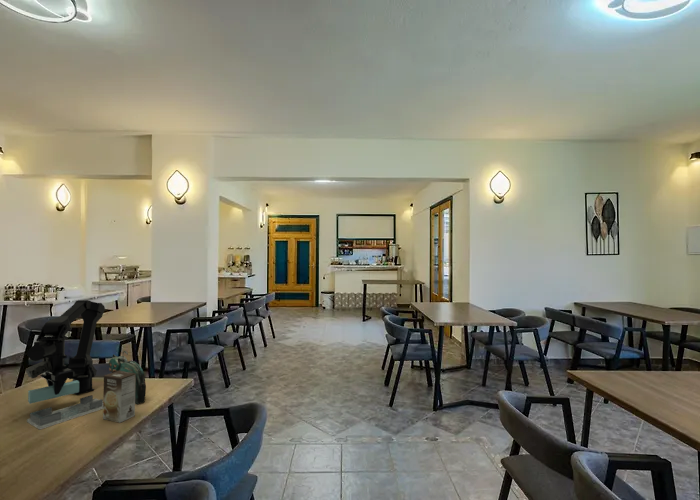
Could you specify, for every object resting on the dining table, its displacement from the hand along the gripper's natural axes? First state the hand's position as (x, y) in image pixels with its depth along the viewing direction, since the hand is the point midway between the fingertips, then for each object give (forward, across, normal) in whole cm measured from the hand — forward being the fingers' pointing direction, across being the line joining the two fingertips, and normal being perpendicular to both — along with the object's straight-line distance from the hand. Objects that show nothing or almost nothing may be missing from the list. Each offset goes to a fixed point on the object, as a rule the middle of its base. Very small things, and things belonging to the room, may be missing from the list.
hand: (54, 393), depth 139 cm
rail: (+1, 0, 0) cm, 1 cm away
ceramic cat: (+6, +15, +20) cm, 26 cm away
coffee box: (+6, +30, +9) cm, 32 cm away
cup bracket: (+6, +11, +1) cm, 12 cm away
